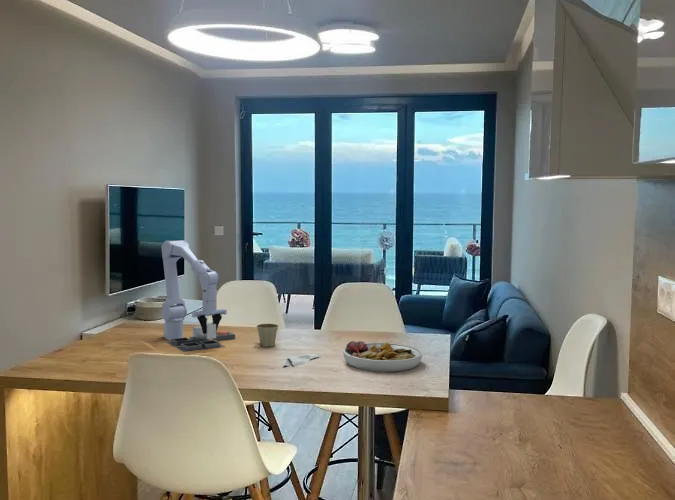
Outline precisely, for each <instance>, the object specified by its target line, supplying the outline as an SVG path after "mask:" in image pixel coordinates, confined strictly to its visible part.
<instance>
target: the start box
mask: <svg viewBox="0 0 675 500" xmlns="http://www.w3.org/2000/svg"><path fill="white" fill-rule="evenodd" d="M226 331H227V335H218V332H216V338H213V339H212V340H215V341H217V342H222V341H223V342H224V341H229V340H236V334H235V333H232V332H230V331H228V330H226Z"/></svg>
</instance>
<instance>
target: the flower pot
mask: <svg viewBox="0 0 675 500" xmlns="http://www.w3.org/2000/svg"><path fill="white" fill-rule="evenodd" d="M256 328H257V331H258V332H257V333H258V337H259V339H258V340H259V345H260V346H261V347H263V348H264V347H265V348H268V347H271V348H273V347H274V346H275V345H276V338H277V331H278V328H279V324H275V323H258V324H257V325H256Z"/></svg>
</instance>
